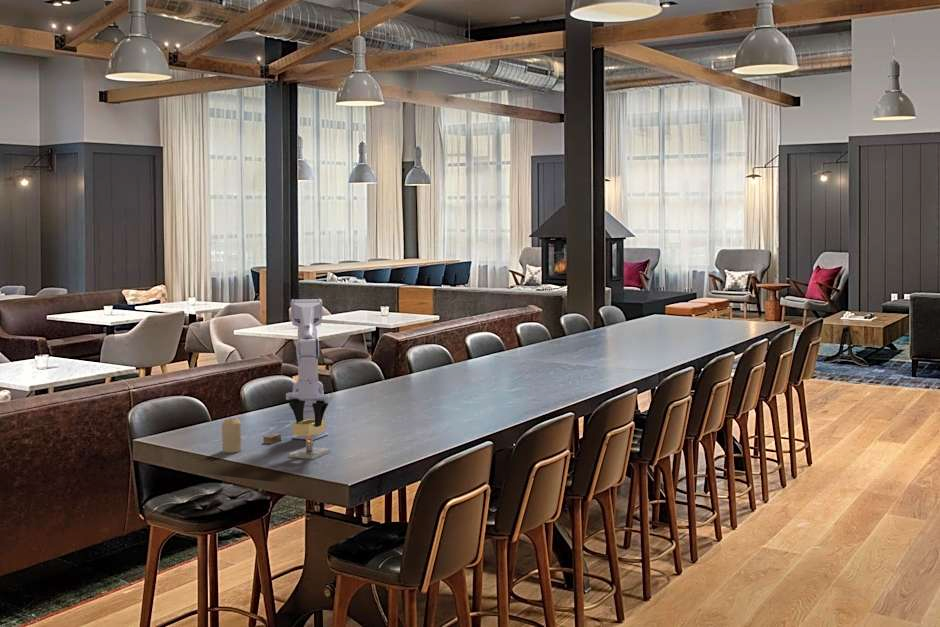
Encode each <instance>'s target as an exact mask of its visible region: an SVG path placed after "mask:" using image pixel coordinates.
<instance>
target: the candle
mask: <svg viewBox="0 0 940 627" xmlns="http://www.w3.org/2000/svg"><path fill="white" fill-rule="evenodd" d="M221 433H222V434H221V437H222V438H221V439H222V440H221V442H222V443H221V444H222V452H223V453H227V454H228V453H229V454H232V453H233V454H234V453H239V452H241V451H242V423H241V421H240V420H239V419H238V417H234V418H231V417H229V418H228V417H226V418H225V419H224V420H223V421H222V423H221Z"/></svg>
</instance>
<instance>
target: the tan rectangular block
mask: <svg viewBox="0 0 940 627" xmlns="http://www.w3.org/2000/svg"><path fill="white" fill-rule="evenodd" d="M262 438H263V440H262V441H263V444H269V445H273V444H275V443H278V442H281V441H282V435H281V433H271V434H267V435H264V436H263V437H262Z"/></svg>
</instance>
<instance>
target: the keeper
mask: <svg viewBox="0 0 940 627" xmlns="http://www.w3.org/2000/svg"><path fill="white" fill-rule="evenodd" d="M329 453H331V448H327V447H315V446H314V440H313V439H306V440H305V447H302V448H299V449H297V450H294V451H292V452H289V453H288V458H296V459H306V460H314V459H317V458H318V457H319V458H320V457H322V456H324V455H327V454H329Z"/></svg>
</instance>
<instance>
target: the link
mask: <svg viewBox="0 0 940 627" xmlns="http://www.w3.org/2000/svg"><path fill="white" fill-rule="evenodd" d="M323 431H325V420H322V423H321V426H319V427H315V419H306V420H303V421H300V422H297V421H296V422H293V423H291V435H293V436H295V435H299V436H307V437H309V436H312V435H315V434H318V433H321V432H323Z"/></svg>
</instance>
